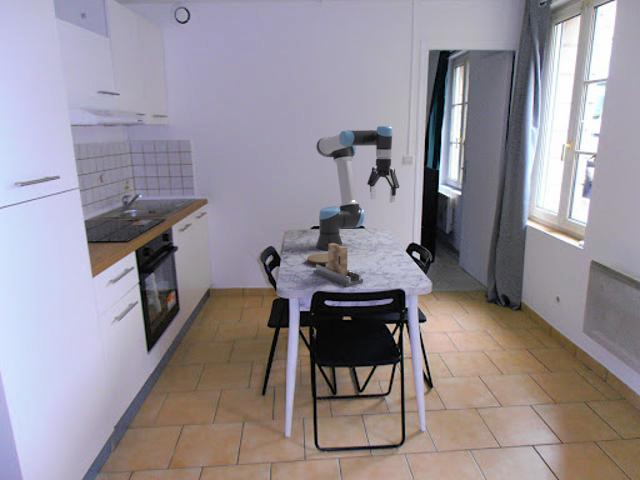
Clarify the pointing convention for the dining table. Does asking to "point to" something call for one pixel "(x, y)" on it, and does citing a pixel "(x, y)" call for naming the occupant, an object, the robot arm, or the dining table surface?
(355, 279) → the track
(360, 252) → the dining table surface
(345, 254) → the door
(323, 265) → the wood log slice
